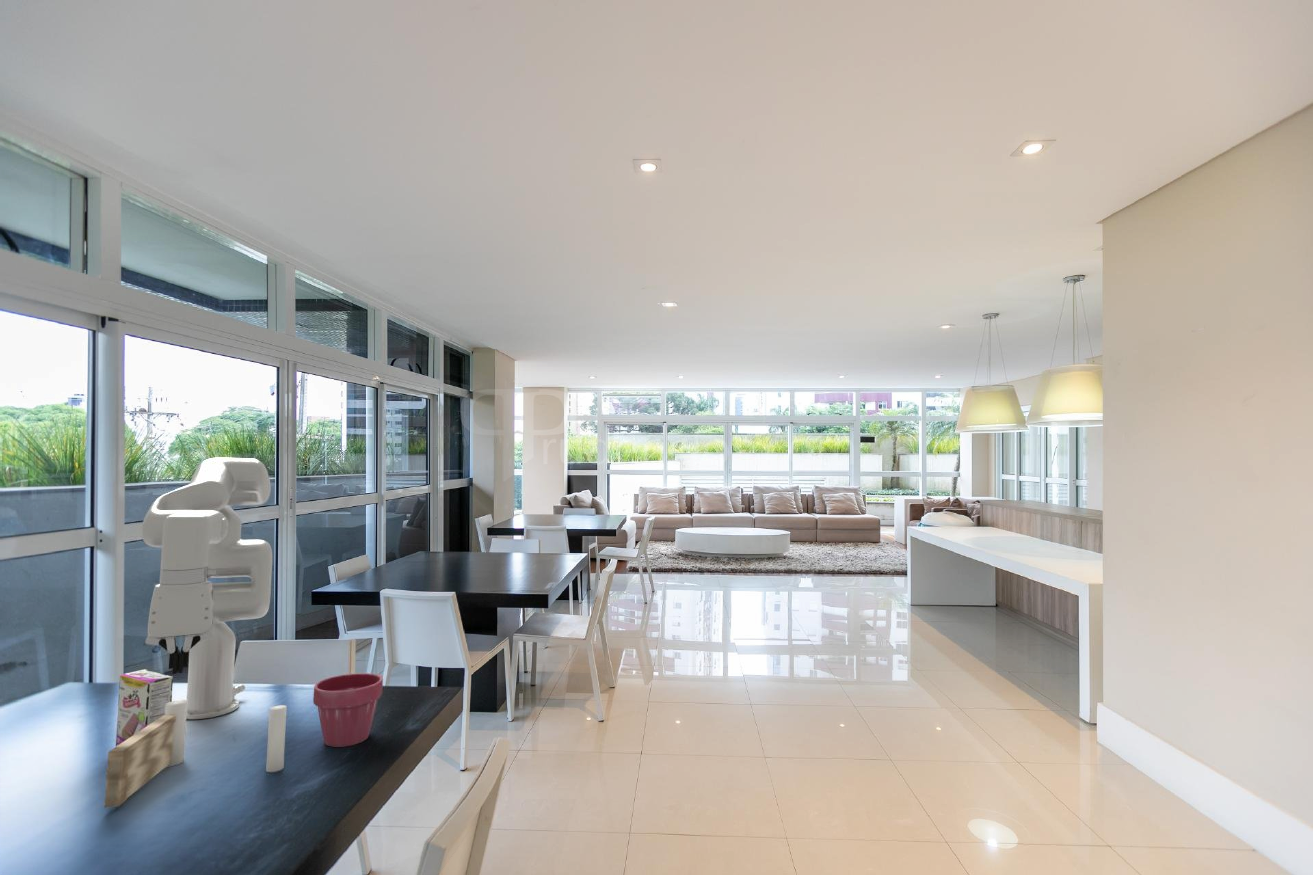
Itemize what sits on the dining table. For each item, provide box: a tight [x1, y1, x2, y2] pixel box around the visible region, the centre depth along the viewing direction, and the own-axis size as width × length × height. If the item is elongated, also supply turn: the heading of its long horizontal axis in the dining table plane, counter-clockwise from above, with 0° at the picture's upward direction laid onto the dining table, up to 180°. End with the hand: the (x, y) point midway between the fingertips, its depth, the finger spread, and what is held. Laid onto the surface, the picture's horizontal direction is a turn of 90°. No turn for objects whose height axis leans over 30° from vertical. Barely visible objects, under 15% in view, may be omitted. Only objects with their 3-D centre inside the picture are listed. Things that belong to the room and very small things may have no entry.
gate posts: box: [165, 699, 288, 773], centre depth 130 cm, size 4×26×12 cm, turn 84°
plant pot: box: [312, 672, 384, 748], centre depth 145 cm, size 14×14×13 cm
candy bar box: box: [115, 668, 174, 747], centre depth 136 cm, size 11×5×16 cm, turn 65°
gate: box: [104, 715, 176, 808], centre depth 120 cm, size 18×2×9 cm, turn 12°
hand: (178, 671), depth 125 cm, fingers closed
